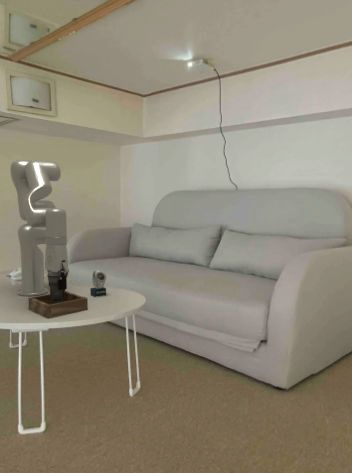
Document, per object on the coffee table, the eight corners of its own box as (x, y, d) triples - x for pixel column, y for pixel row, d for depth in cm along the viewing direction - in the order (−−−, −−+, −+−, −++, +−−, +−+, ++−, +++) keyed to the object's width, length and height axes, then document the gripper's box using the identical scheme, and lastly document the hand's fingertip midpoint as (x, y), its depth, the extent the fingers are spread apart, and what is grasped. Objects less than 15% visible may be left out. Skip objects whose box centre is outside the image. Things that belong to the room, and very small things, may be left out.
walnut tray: (28, 309, 143) (28, 297, 143) (66, 301, 154) (66, 291, 154) (48, 318, 132) (47, 306, 131) (87, 309, 143) (87, 298, 143)
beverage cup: (57, 308, 138) (56, 255, 136) (43, 305, 141) (42, 253, 140) (71, 304, 144) (70, 252, 143) (58, 301, 148) (57, 251, 146)
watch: (96, 297, 161) (96, 272, 160) (88, 294, 168) (88, 270, 167) (108, 295, 165) (108, 271, 164) (100, 292, 171) (100, 268, 170)
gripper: (36, 240, 144) (37, 285, 146) (58, 244, 132) (59, 293, 134) (54, 239, 150) (55, 282, 151) (77, 242, 137) (78, 290, 139)
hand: (57, 287), depth 142 cm, fingers closed on beverage cup, 7 cm apart
